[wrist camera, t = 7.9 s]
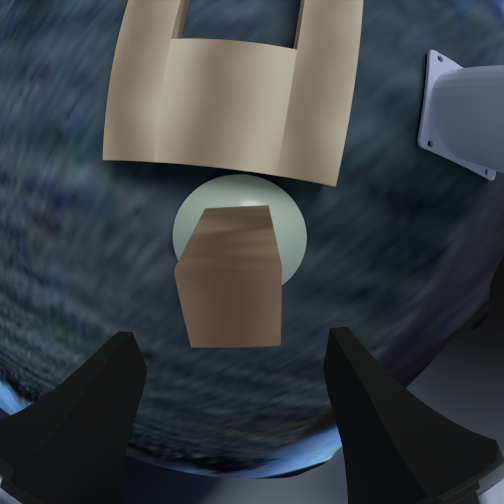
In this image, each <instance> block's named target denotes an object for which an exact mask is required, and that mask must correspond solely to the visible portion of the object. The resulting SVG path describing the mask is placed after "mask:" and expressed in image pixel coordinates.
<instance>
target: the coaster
mask: <svg viewBox="0 0 504 504" xmlns="http://www.w3.org/2000/svg"><path fill="white" fill-rule="evenodd" d="M260 205H269V209H270V214H271V218H272V222H273V227H274V232H275V236H276V241H277V245H278V250H279V255H280V260H281V264H282V285H283V284H284V283H286V282H287V281H288V280H289V279H290V278H291V277H292V276H293V274H294V273H295V272H296V270H297V269H298V267H299V266H300V263H301V261H302V259H303V256H304V253H305V249H306V241H307V234H306V226H305V223H304V219H303V217H302V214H301V212H300V210H299V208H298V207H297V205H296V203H295V202H294V200H293V199H292V198H291V197H290V195H289V194H288V193H286V192H285V191H284V190H283V189H282V188H281V187H279V186H278V185H276V184H275V183H273V182H271V181H269V180H267V179H264V178H261V177H259V176H254V175H249V174H229V175H224V176H220V177H217V178H214V179H211V180H209V181H207V182H205V183H204V184H202V185H201V186H199V187H198V188H196V189H195V190H194V191H193V192H192V193H191V194H190V195H189V196H188V198H187V199H186V200H185V201H184V202H183V204H182V206H181V207H180V209H179V211H178V213H177V216H176V218H175V222H174V226H173V245H174V251H175V254H176V257H177V259H178V261H179V259H180V257H181V255H182V253H183V251H184V249H185V247H186V245H187V243H188V241H189V239H190V237H191V235H192V233H193V231H194V229H195V227H196V225H197V223H198V221H199V219H200V217H201V216H202V214H203V212H204V210H205V208H219V207H238V206H260Z"/></svg>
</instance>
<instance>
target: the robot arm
mask: <svg viewBox="0 0 504 504" xmlns="http://www.w3.org/2000/svg"><path fill="white" fill-rule="evenodd" d="M438 58H439V59H440V61H439V60H438ZM428 141H430V146H428ZM417 142H418V145H419V146H420V147H421V148H423V149H426V150H428V151H431V152H433V153H435V154H438V155H440V156H442V157H444V158H447V159H449V160H451V161H453V162H455V163H457V164H459V165H461V166H463V167H465V168H467V169H469V170H471V171H473V172H475V173H477V174H479V175H481V176H483V177H485V178H486V179H488V180H491V181H492V180H494V178H495V174H496V171H498V172H501V173H503V174H504V65H498V66H482V67H471V68H462V67H461V66H459V65H458V64H456V63H455V62H453V61H452V60H450V59H448V58H447V57H445V56H443V55H442V54H440V53H438V52H437V51H435V50H430V51H428V53H427V69H426V81H425V91H424V100H423V107H422V114H421V121H420V127H419V133H418V139H417ZM323 367H324V374H325V380H326V386H327V391H328V395H329V398H330V402H331V405H332V409H333V413H334V416H335V420H336V423H337V427H338V430H339V434H340V438H341V442H342V447H343V453H344V460H345V468H346V478H347V489H348V504H504V477H503V478H501V479H500V480H498V481H497V482H495V483H494V484H492V485H491V486H489V487H488V488H486V489H485V490H483V491H481V492H480V493H477V494H476V490H478V489H479V488H480V486H479V483H478V481H479V480H480V479H482V478H483V477H485V476H486V475H488V474H489V473H491V472H492V471H493V470H495V469H496V468H497V467H499V466H500V465H502V464H503V463H504V458H503V456H502V453H501V450H500V448H499V446H498V444H497V442H496V440H493V439H490V438H487V437H485V436H482V435H480V434H477V433H474V432H472V431H470V430H468V429H466V428H464V427H462V426H460V425H458V424H456V423H454V422H452V421H451V420H449V419H447V418H446V417H444V416H442V415H441V414H439V413H438V412H436V411H434V410H433V409H431V408H430V407H429V406H427V405H426V404H424V403H423V402H422V401H420V400H419V399H418V398H416V397H415V396H414V395H413V394H411V393H410V392H409V391H408V390H407V389H406V388H405V387H403V386H402V385H401V384H400V383H399V382H398V381H397V380H396V379H395V378H394V377H393V376H392V375H391V374H390V373H389V372H388V371H387V370H386V369H385V368H384V367H383V366H382V365H381V364H380V363H379V362H378V361H377V360H376V359H375V358H374V357H373V356H372V355H371V354H370V353H369V351H368V350H367V349H366V348H365V347H364V346H363V345H362V344H361V342H360V341H359V340H358V339H357V338H356V337H355V336H354V334H353V333H352V332H351V331H350V330H349V329H348V328H347V327H340V328H330V333H329V339H328V344H327V350H326V355H325V360H324V365H323ZM146 373H147V366H146V364H145V362H144V359H143V357H142V355H141V352H140V350H139V348H138V345H137V343H136V340H135V338H134V335H133V333H132V332H122V331H118V332H117V333H116V334H115V335H114V336H113V337H112V338H110V339H109V340H108V341H107V342H106V343H105V344H104V345H103V346H102V347H101V348H100V349H99V350H98V351H97V352H96V353H95V354H94V355H92V356H91V357H90V358H89V359H88V360H87V361H86V362H85V363H84V364H83V365H82V366H81V367H80V368H79V369H77V370H76V371H75V372H74V373H73V374H72V375H71V376H69V377H68V378H67V379H66V380H65V381H64V382H63V383H61V384H60V385H59V386H58V387H56V388H55V389H54V390H52V391H51V392H50V393H48V394H47V395H45V396H44V397H43V398H41V399H39V400H38V401H36V402H35V403H33V404H31V405H30V406H28V407H26V408H25V409H23V410H21V411H19V412H17V413H15V414H13V415H11V416H9V417H7V418H4V419H2V420H0V475H1V476H2V477H3V478H2V477H1V476H0V504H123V503H122V490H123V489H122V487H123V471H124V462H125V455H126V448H127V443H128V439H129V435H130V431H131V428H132V425H133V422H134V418H135V415H136V412H137V409H138V406H139V403H140V399H141V396H142V393H143V389H144V384H145V379H146Z"/></svg>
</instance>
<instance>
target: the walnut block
mask: <svg viewBox="0 0 504 504" xmlns="http://www.w3.org/2000/svg"><path fill="white" fill-rule="evenodd" d="M174 275H175V280H176V285H177V289H178V294H179V299H180V303H181V307H182V312H183V316H184V320H185V324H186V328H187V332H188V336H189V340H190V344H191V347H200V348H230V347H264V346H281V306H282V264H281V260H280V255H279V250H278V245H277V241H276V236H275V232H274V227H273V222H272V218H271V214H270V209H269V205H260V206H238V207H219V208H205V210H204V212H203V214H202V216H201V217H200V219H199V221H198V223H197V225H196V227H195V229H194V231H193V233H192V235H191V237H190V239H189V241H188V243H187V245H186V247H185V249H184V251H183V253H182V255H181V257H180V259H179V261H178V263H177V265H176V267H175V269H174Z"/></svg>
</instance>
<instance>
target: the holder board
mask: <svg viewBox="0 0 504 504" xmlns="http://www.w3.org/2000/svg"><path fill="white" fill-rule="evenodd" d="M189 4H190V0H129V1H128V4H127V7H126V10H125V14H124V17H123V21H122V25H121V29H120V33H119V37H118V41H117V46H116V50H115V55H114V60H113V66H112V71H111V77H110V84H109V91H108V98H107V107H106V116H105V128H104V142H103V160H123V161H146V162H162V163H175V164H187V165H198V166H208V167H217V168H226V169H234V170H242V171H249V172H256V173H263V174H270V175H276V176H282V177H288V178H294V179H300V180H305V181H311V182H316V183H321V184H326V185H331V186H336V183H337V178H338V173H339V169H340V164H341V159H342V154H343V149H344V144H345V138H346V133H347V127H348V122H349V116H350V110H351V104H352V97H353V91H354V84H355V77H356V69H357V62H358V53H359V44H360V34H361V23H362V10H363V0H301V3H300V10H299V16H298V23H297V29H296V36H295V42H294V48H293V49H290V48H285V47H279V46H273V45H267V44H260V43H252V42H243V41H232V40H217V39H181V38H182V33H183V29H184V24H185V20H186V16H187V12H188V8H189Z"/></svg>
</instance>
